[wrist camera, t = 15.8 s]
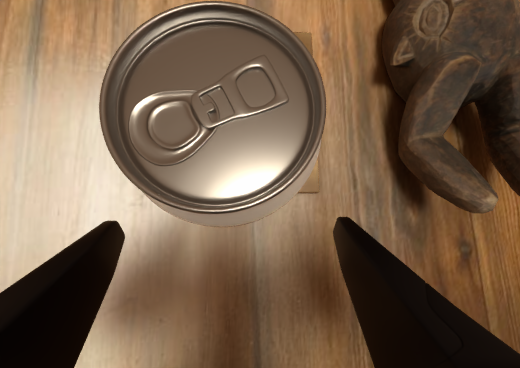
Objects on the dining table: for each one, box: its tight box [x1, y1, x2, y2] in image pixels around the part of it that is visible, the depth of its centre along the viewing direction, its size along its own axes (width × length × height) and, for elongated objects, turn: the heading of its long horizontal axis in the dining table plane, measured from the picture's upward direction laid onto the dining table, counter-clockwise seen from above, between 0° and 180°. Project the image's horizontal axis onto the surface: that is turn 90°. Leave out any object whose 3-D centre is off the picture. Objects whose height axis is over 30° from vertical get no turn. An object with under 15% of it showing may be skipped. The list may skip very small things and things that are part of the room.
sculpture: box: [382, 0, 520, 213], centre depth 17 cm, size 10×26×7 cm, turn 4°
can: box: [99, 1, 326, 227], centre depth 11 cm, size 6×6×12 cm
